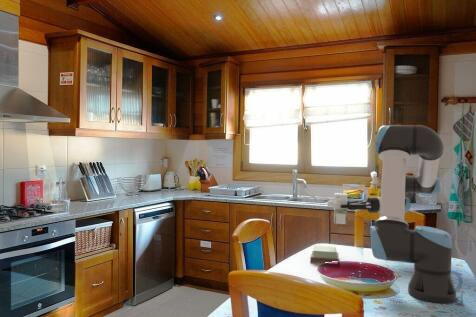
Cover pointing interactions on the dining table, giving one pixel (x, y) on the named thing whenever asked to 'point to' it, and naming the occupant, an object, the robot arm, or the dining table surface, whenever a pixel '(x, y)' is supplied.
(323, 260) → the walnut slab
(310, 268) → the dining table surface
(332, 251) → the sage slab
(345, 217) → the syrup box
